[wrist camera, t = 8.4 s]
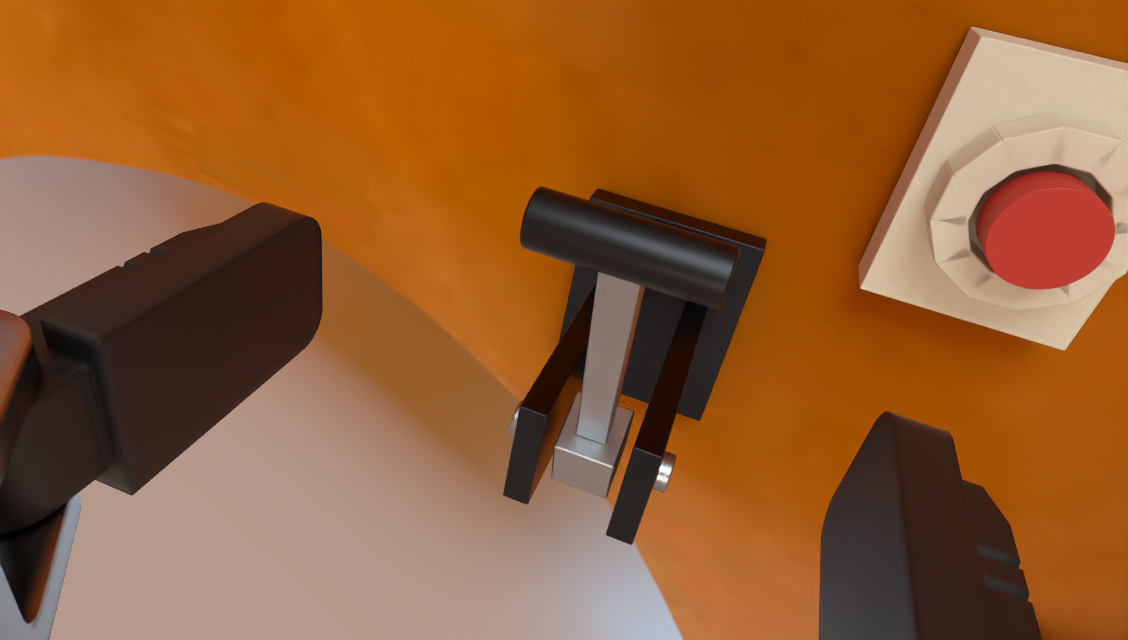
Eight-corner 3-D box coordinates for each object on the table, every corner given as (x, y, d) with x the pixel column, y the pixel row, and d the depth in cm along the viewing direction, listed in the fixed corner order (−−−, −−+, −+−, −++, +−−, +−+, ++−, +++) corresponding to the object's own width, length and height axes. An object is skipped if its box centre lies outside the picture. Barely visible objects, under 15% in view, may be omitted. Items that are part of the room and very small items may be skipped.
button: (1008, 157, 24) (1020, 173, 22) (1123, 187, 23) (1141, 206, 22) (956, 250, 26) (964, 271, 24) (1061, 280, 25) (1074, 303, 24)
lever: (550, 161, 17) (511, 228, 16) (750, 220, 17) (726, 297, 15) (539, 413, 28) (516, 465, 27) (660, 456, 27) (642, 513, 26)
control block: (970, 25, 25) (991, 44, 22) (1214, 83, 24) (1274, 113, 21) (857, 266, 31) (860, 309, 28) (1050, 323, 30) (1078, 377, 26)
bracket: (597, 188, 33) (487, 323, 22) (767, 239, 32) (735, 408, 21) (559, 358, 38) (457, 530, 28) (703, 407, 37) (652, 608, 27)
